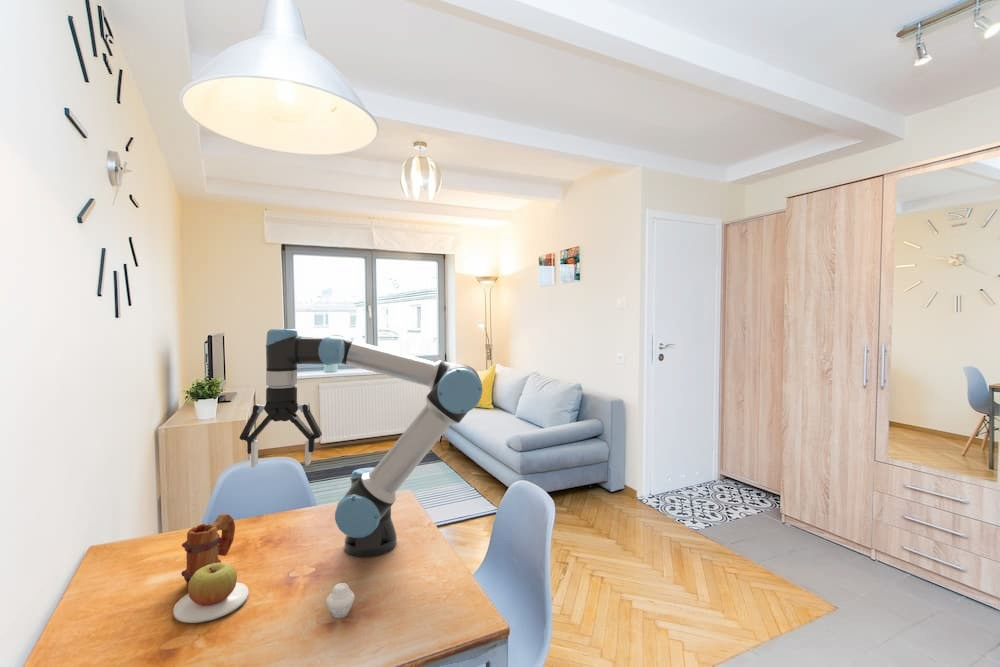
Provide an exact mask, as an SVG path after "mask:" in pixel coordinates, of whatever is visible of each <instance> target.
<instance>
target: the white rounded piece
mask: <svg viewBox="0 0 1000 667" xmlns="http://www.w3.org/2000/svg"><path fill="white" fill-rule="evenodd" d="M355 597H356V596H355V594H354V592H353V591H352V590H351V588H350V587H349V585H348V584H347V583H346V582H341V583H337V584H335V585H334V587H333V588H332V591H331V592H330V593H329V594H328V596H327V598H326V605H327V608H328V610H329V611H330V613H331V615H332V616H333V617H334V618H336V619H341V618H345V617H346V616H348V614H349V612H350V610H351V608H352V606H353V604H354V602H355Z"/></svg>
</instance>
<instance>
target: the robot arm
mask: <svg viewBox="0 0 1000 667" xmlns="http://www.w3.org/2000/svg"><path fill="white" fill-rule="evenodd" d="M266 332H267V333H266V343H265V351H266V352H265V355H266V356H265V357H266V364H265V365H266V368H265V371H266V372H265V374H266V375H265V377H266V378H265V379H266V380H265V385H266V386H267V387H266V389H265V404H261V403H257V404H254V405H253V406H252V412H251V415H250V416H249V419H248V420H247V423H246V425H245V426H244V428H243V430H242V432H241V434H240V435H239V440H240V441H245V442H247V447H246V448H247V450H246V451H247V454H248V455H250V468H255V467H256V466H258V465H259V439H256V438H257V437H258V436H259V435H260V434H261V433H262V431H263V430H264V429H265V428H267V426H268V425H269V424H270V422H272V421H273V422H280V421H281V422H288V421H290V423H292V424H294V426H295V427H296V428H297V429H298V430H299V431H300V433H301V434H302V435H303V436H304V437H306V440H305V442H304V449H305V450H304V452H305V453H304V466H309V465H310V464H312V463H311V462H312V460H311V459H312V454H311V453H313V452H315V449H316V448H315V446H316V445H315V444H316V443H315V442H316V441H315V440H316V439H319V438H321V437H322V436H323V435H322V434H323V433H322V430H321V429H320V427H319V425H318V423H317V421H316V419H315V417H314V416H313V414H312V411H311V407H310V403H309V402H306V403H303V404H299V403H298V387H297V386H296V385H297V384H298V365H326V366H329V365H330V366H331V365H339V364H341V365H342V364H343V365H345V366H350V367H355V368H359V369H361V370H366V371H369V372H373V373H376V374H379V375H380V374H381V375H384V376H387V377H392V378H394V379H395V378H396V379H400V380H402V381H405V382H411V383H413V384H417V385H421V386H425V387H428V388H429V389H430V392H429V393H428V394H427V395H426V398H425V399H426V405H425V406H424V408H423V409H422V410H421V411H420V412H419V413H418V415H417V416H416V417H415V418H414V420H413V421H412V422H411V423H410V424H409V426H408V427H407V428H406V429H405V431H404V432H403V433H402V434H401V436H399V438H398V439H397V440H396V441H395V443H394V444H393V445H392V446H391V447H390V449H389V450H388V451H387V452H386V453H385V455H384V456H383V457H382V459H381V460H380V461H379V462H378V464H376V466H372V467H363V468H358V469H355V470H353V471H352V473H351V477H350V484H351V485H350V487H349V489H348V491H347V492H346V493H345V495H344V496H343V497H342V499H341V500H339V502H338V503H337V506H336V509H335V512H334V521H335V524H336V526H337V528H338V529H339V531H340V532H341V533H343V534H344V535H345V538H344V551H345V552H346V553H347V554H349V555H351V556H354V557H360V558H369V557H370V558H371V557H376V556H377V557H378V556H381V555H383V554H386V553H387V552H390V551H391V550H393V549H394V548H395V547H396V545H397V543H396V542H397V539H398V538H397V533H396V529H395V526H394V523H393V520H392V506H393V504H394V503H395V502H396V500H397V495H396V492H397V491H398V490H399V488H401V486H402V484H403V483H404V482H405V481H406V480H407V479H408V478H409V476H410V475H411V474H412V472H413V471H414V470H415V469H416V468H417V466H418V465H419V464H420V463H421V462H422V460H423V459H424V458H425V457H426V455H427V454H428V453H429V452H430V450H432V448H433V447H434V445H435V444H436V443H437V442H438V441H439V440H440V438H441V437H442V436H443V435H444V433H445V432H446V431H447V429H449V428H450V426H451V425H455V424H457V425H458V424H460V422H462V420H463V419H464V418H465V417H466V416H467V414H468V413H469V412H471V411H472V410H473V409H474V408H476V406H478V404H479V402H480V401H481V399H482V395H483V383H482V381H481V378H480V376H479V374H478V372H477V370H475V369H474V368H473V367H472V366H469V365H467V364H462V363H453V362H448V361H444V360H440V359H439V360H438V361H435V362H434V361H431V360H427V359H424V358H419V357H417V356H413V355H410V354H405V353H401V352H397V351H395V350H390V349H386V348H382V347H378V346H376V345H372V344H368V343H364V342H360V341H356V340H352V339H349V338H345V337H344V336H342V335H338V334H332V335H324V336H322V335H321V336H300V335H299V334H298V330H297V329H296V328H271V329H269V330H267V331H266ZM298 410H299V411H300V412H301V413H303V416H304V419H305V420H306V422H307V424H308V426H309V427H310V428H309V427H308V426H307V425H306V424H305V422H303V421H302V420H301V418H300V416H299V415H298V414H297V411H298ZM263 411H265V413H266V414H267V416H266V417H265V418H264V419H263V420H262V421H261V423H260V424H259V425H258V426H257V427H256V429H255V430H254V431H253V432H252V433H251V431H252V429H253V427H254V426H255V424H256V422H257V420H258V418H259V416H260V414H262V413H263ZM250 433H251V434H250Z"/></svg>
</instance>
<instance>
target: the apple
mask: <svg viewBox="0 0 1000 667" xmlns="http://www.w3.org/2000/svg"><path fill="white" fill-rule="evenodd" d="M236 582H238V574H237V571H236V570H235V568H234V566H233V565H231V564H230V563H227V562H221V563H213V564H209V565H207V566H204V567H202V568H200V569H199V570H197V571H196V572H195V573H194V575H193V576H192V577H191V579H190V581H189V583H188V586H187V587H188V588H187V589H188V590H187V592H188V593H187V594H189V597H190V599H191V600H192V601H193V602H195V603H196V604H198V605H203V606H205V605H213V604H216V603H219V602H221V601H223V600H224V599H226V598H227V597H228V596H229V595H230V594H231V593H232V591H233V590H234V588H235V586H236Z"/></svg>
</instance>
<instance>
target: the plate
mask: <svg viewBox="0 0 1000 667" xmlns="http://www.w3.org/2000/svg"><path fill="white" fill-rule="evenodd" d="M248 598H249V588H248V586H247V585H246V584H244V583H242V582H238V581H237V582H236V586H235V588H234V590H233V591H232V593H231V594H230V595H229V596H228V597H227V598H226V599H224V600H223V601H221V602H219V603H216V604H213V605H205V606H203V605H198V604H196V603H195V602H193V601H192V600H191V599H190V597H189V594H188V593H187V594H186V595H184V596H183V597H181V598H180V599H179V600H178V601H177V602H176V603H175V605H174V607H173V618H174V619H175V620H177V621H178V622H181V623H188V624H189V623H190V624H191V623H192V624H196V623H204V622H210V621H213V620H216V619H219V618H222V617H224V616H227V615H228V614H230V613H232V612H234V611H236V610H237V609H239V607H241V606H242V605H243V604H244V603H245V602H246V601H247V600H248Z"/></svg>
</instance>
